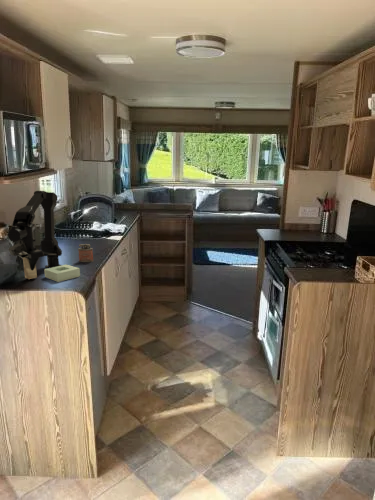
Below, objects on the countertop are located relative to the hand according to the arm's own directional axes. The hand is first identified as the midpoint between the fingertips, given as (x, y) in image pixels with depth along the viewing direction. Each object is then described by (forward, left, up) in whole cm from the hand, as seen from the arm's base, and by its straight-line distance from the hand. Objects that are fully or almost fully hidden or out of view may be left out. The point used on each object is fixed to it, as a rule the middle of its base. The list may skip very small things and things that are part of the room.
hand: (30, 269), depth 183 cm
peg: (0, 0, -4) cm, 4 cm away
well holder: (+8, +12, -5) cm, 15 cm away
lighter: (-9, +37, -5) cm, 38 cm away
